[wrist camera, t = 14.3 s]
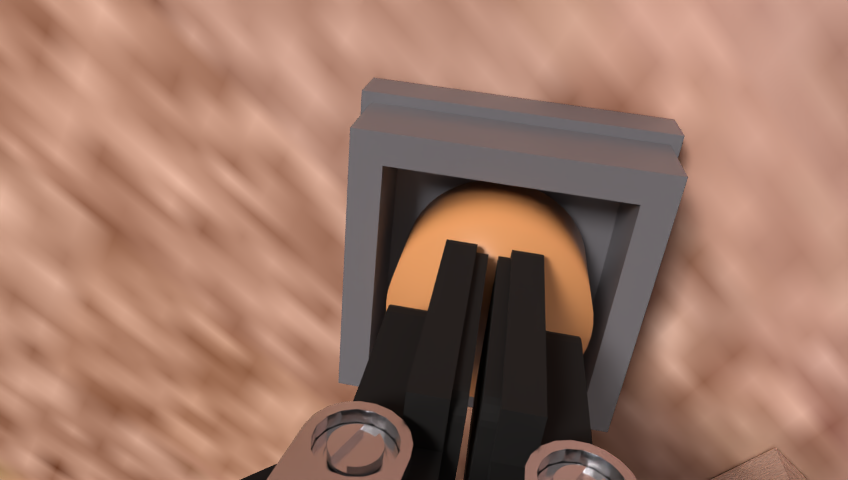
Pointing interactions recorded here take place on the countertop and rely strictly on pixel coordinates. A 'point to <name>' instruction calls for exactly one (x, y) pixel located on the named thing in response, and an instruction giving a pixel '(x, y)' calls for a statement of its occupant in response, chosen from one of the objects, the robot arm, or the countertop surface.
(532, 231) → the button
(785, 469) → the tray
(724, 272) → the countertop surface
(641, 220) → the button base
